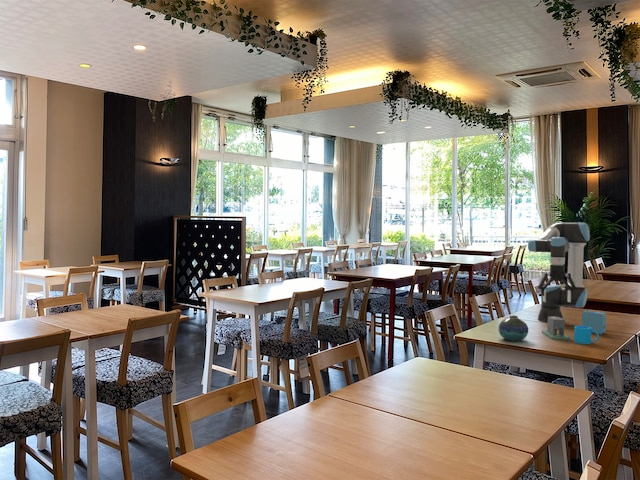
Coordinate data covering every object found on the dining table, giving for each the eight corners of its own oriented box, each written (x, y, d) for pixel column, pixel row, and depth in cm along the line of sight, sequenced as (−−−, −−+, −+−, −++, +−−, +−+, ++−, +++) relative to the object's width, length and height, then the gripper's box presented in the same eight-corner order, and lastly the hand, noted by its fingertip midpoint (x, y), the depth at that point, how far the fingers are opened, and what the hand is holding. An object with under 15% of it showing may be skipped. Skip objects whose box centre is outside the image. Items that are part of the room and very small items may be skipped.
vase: (525, 344, 262) (526, 319, 262) (495, 340, 270) (495, 316, 270) (530, 339, 275) (530, 315, 275) (501, 335, 283) (502, 312, 283)
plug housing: (547, 331, 288) (547, 316, 287) (558, 332, 287) (558, 316, 287) (553, 335, 279) (553, 319, 278) (564, 335, 278) (564, 319, 278)
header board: (541, 332, 291) (541, 325, 291) (559, 333, 290) (559, 325, 290) (551, 339, 276) (551, 331, 275) (570, 339, 274) (570, 332, 274)
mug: (572, 342, 269) (572, 327, 268) (575, 339, 275) (576, 324, 275) (597, 345, 261) (598, 330, 261) (600, 343, 268) (600, 327, 267)
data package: (605, 333, 290) (606, 313, 290) (603, 334, 287) (603, 314, 287) (584, 330, 299) (584, 310, 299) (581, 331, 296) (581, 311, 296)
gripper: (536, 264, 279) (535, 302, 280) (583, 265, 276) (582, 303, 277) (532, 263, 286) (531, 300, 287) (577, 264, 284) (576, 300, 285)
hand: (556, 301), depth 282 cm, fingers open, 13 cm apart
